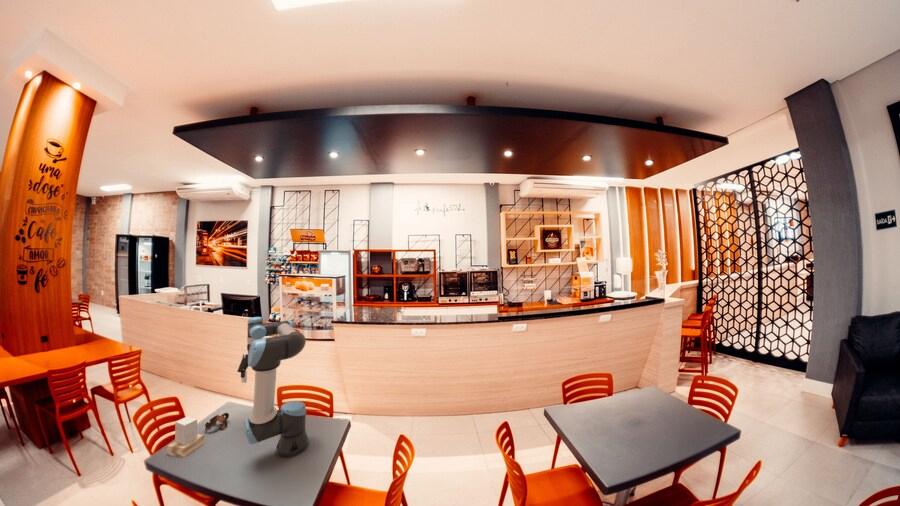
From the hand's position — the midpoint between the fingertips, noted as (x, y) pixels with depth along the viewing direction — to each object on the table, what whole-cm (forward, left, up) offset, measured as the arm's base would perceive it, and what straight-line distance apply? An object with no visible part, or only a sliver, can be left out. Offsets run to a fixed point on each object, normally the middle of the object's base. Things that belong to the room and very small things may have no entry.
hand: (254, 377), depth 169 cm
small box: (+13, +28, -22) cm, 38 cm away
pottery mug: (+14, +10, -27) cm, 32 cm away
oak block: (+13, +28, -27) cm, 41 cm away
